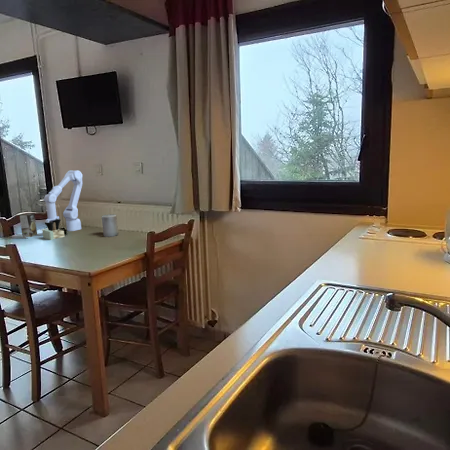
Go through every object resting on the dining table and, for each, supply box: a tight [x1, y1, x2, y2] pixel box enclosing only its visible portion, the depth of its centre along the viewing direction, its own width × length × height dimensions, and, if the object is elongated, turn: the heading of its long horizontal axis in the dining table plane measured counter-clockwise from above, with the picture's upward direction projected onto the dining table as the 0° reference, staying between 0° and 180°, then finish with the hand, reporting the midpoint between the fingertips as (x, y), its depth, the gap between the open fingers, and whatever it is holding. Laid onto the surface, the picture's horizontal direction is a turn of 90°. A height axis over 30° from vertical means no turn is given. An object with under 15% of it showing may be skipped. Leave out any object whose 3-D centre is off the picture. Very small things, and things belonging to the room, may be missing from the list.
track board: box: [41, 228, 54, 241], centre depth 275 cm, size 21×14×6 cm, turn 136°
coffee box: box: [19, 212, 38, 240], centre depth 280 cm, size 9×6×16 cm
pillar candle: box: [101, 213, 119, 238], centre depth 276 cm, size 10×10×15 cm
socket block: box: [53, 229, 66, 239], centre depth 272 cm, size 8×8×4 cm
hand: (53, 231), depth 283 cm, fingers open, 7 cm apart
